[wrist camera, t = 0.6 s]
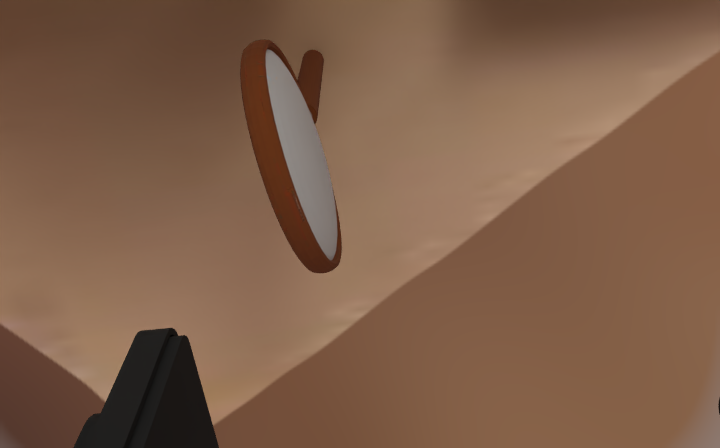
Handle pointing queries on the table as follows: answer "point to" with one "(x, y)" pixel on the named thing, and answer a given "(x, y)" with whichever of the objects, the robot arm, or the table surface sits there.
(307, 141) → the magnifying glass
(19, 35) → the table surface
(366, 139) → the table surface
